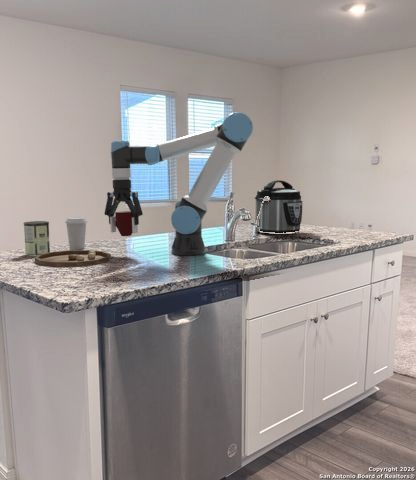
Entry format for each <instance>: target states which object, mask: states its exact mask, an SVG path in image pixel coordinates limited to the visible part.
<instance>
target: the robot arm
mask: <svg viewBox="0 0 416 480" xmlns="http://www.w3.org/2000/svg"><path fill="white" fill-rule="evenodd" d="M253 126H254V125H253V122H252V120H251V118H250V116H248V115H247V114H246V113H244V112H240V111H236V112H232V113H230V114H227V116H226V117H225V118H224V119H223V122H221V123H218V124H215V126H214V127H212V128H209V129H205V130H202V131H199V132H196V133H192V134H189V135H185V136H182V137H178V138H175V139H172V140H168V141H164V142H161V143H158V144H153V145H152V144H147V145H146V144H145V145H143V144H142V145H131V144H130V142H129V141H128V140H114V141H112V142H111V144H110V145H111V146H110V148H111V149H110V157H111V177H112V179H113V180H112V188H113V191H108V192H107V193H106V196H107V197H106V198H107V199H106V204H105V208H104V216H107V217H108V224H109V225H110V233H116V232H117V227H116V225H115V221H116V218H115V212H117V209H118V206H119V204H120V203H121V202H122V203H125V204H126V205H127V207H128V209H129V211H131V213H132V215H133V217H132V234H137V233H139V232H138V225H139V224H140V221H139V220H140V219H139V218H140V217H141V216H143V215H144V214H143V210H142V206H141V203H140V200H139V193H138V191H132V180H131V177H132V174H131V172H132V171H131V165H148V166H152V165H155V164H159V163H161V162H164V161H168V160H171V159H175V158H178V157H182V156H186V155H189V154H192V153H196V152H201V151H203V150H206V149H210V148H213V149H212V151H211V153H210V155H209V157H208V159H207V160H206V161H205V164H203V167H202V169H201V171H200V172H199V174H198V176H197V178H196V180H195V182H194V183H193V185H192V187H191V189H190V190H189V193H188V194H186V195H183V196H182V197H181V199H180V200H178V201H176V202H175V206H174V210H173V212H172V214H171V216H170V217H171V218H170V221H171V225H172V227H173V229H174V230H175V236H174V240H173V242H172V245H171V254H172V255H178V256H198V255H204V254H206V245H205V243H204V240H203V237H202V230H203V229H202V221H203V219H204V218H205V216H206V213H207V212H208V208H207V204H208V203H209V201H210V199H211V198H212V195H213V194H214V192H215V190H216V188H217V187H218V185H219V183H220V182H221V179H222V178H223V176H224V174H225V173H226V171H227V169H228V167H229V165H230V164H231V163H232V160H233V159H234V158H235V157H234V156H235V155H236V154H238V153H241V151H242V150H243V149H244V147H245V144H246V143H247V141H248V140H249V138H250V137H251V136H252V134H253V130H254V127H253Z"/></svg>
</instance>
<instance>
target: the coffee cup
mask: <svg viewBox="0 0 416 480" xmlns="http://www.w3.org/2000/svg"><path fill="white" fill-rule="evenodd" d="M87 223H88V221H87V219H86V218H85V217H83V216H80V217H79V216H78V217H77V216H73V217H72V216H71V217H67V218H66V220H65V225H66V230H67V241H68V249H69V250H85V249H86V248H85V247H86V244H85V243H86V229H87Z"/></svg>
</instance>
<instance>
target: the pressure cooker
mask: <svg viewBox="0 0 416 480" xmlns="http://www.w3.org/2000/svg"><path fill="white" fill-rule="evenodd" d="M276 183H280V184H281V185H282V186H283V187H275V185H276ZM293 187H294V186H293V185H292V184H290V183H289V182H287V181H285V180H281V179H279V180H273V181H270V182H269V183H267V184H266V185H264V187H263V189H260V190H257V191H256V195H255V196H254V200H255V216H254V217H255V218H254V219H255V223H256V220H257V216H258V214H259V211H260V208H261V204H263V206H262V210H261V214H260V219H259V227H260V231H263V232H275V233H283V232H284V233H286V232H295V231H299V232H300V230H301V224H302V219H303V218H302V217H303V201H302V195H301V191H299V190H296V189H295V188H293ZM265 196H269V197H270V199H271V202H268V201H264V203H262V201H263V199H264V197H265Z"/></svg>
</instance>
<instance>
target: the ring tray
mask: <svg viewBox="0 0 416 480" xmlns="http://www.w3.org/2000/svg"><path fill="white" fill-rule="evenodd" d="M89 251H95V253H96V256H95V259H94V260H89V259H88V253H89ZM78 255H83V256H84V261H78V262H77V260H76V257H77V256H78ZM111 258H112V254H111V253H109V252H106V251H103V250H94V249H93V250H92V249H77V250H70V249H69V250H60V251H59V250H58V251H57V250H56V251H50V252H49V253H44V254H40V255H38V256H34V263H36V264H38V265H40V266H45V267H58V268H59V267H62V268H63V267H64V268H65V267H84V266H92V265H93V266H94V265H99V264H100V265H101V264H103V263H107V262H109V261H110V260H111Z"/></svg>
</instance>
